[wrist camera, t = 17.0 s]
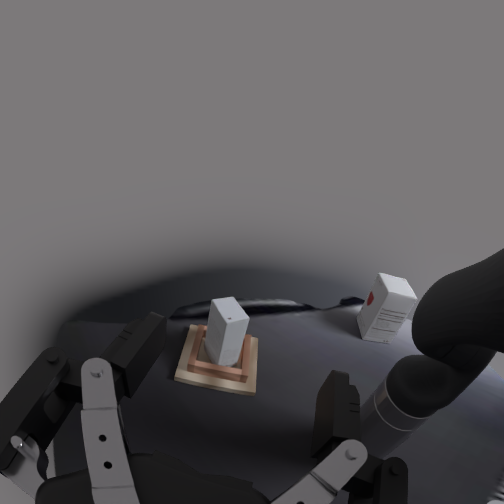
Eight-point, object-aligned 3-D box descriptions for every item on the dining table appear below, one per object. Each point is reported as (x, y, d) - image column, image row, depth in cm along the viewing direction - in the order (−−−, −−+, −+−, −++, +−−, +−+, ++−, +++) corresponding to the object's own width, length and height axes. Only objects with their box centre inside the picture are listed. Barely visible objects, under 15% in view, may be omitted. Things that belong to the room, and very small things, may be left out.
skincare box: (237, 366, 49) (250, 318, 44) (216, 371, 47) (226, 323, 42) (222, 343, 54) (233, 295, 48) (202, 347, 51) (210, 299, 46)
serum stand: (256, 342, 58) (260, 330, 56) (253, 396, 45) (258, 385, 44) (190, 328, 57) (191, 316, 55) (174, 380, 44) (174, 369, 43)
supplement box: (355, 317, 72) (377, 271, 66) (382, 322, 72) (406, 278, 66) (361, 340, 64) (388, 291, 57) (390, 344, 64) (418, 298, 57)
